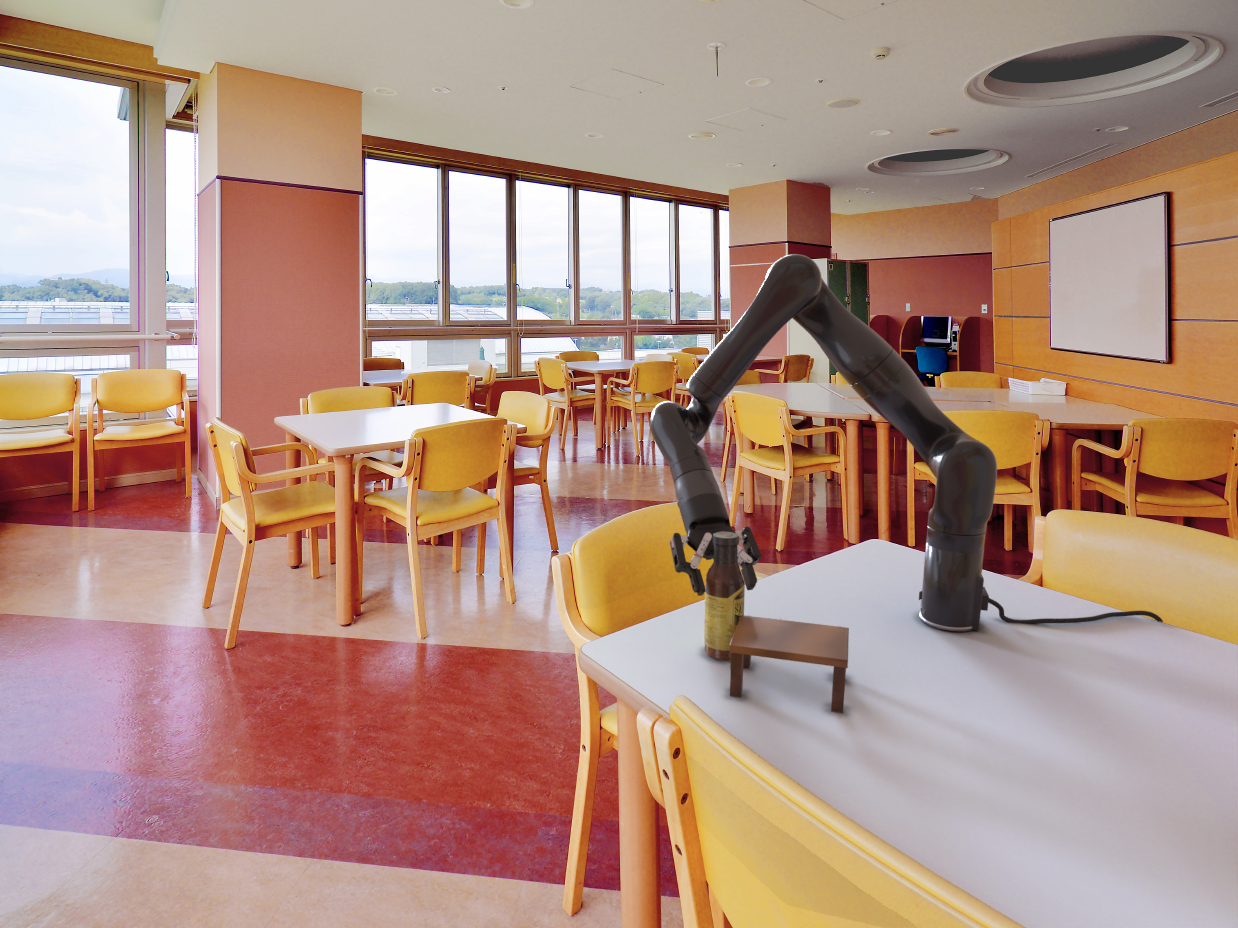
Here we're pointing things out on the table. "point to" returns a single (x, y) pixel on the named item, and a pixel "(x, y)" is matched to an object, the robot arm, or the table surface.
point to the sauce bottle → (723, 596)
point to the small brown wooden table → (790, 649)
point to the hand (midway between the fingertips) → (727, 590)
